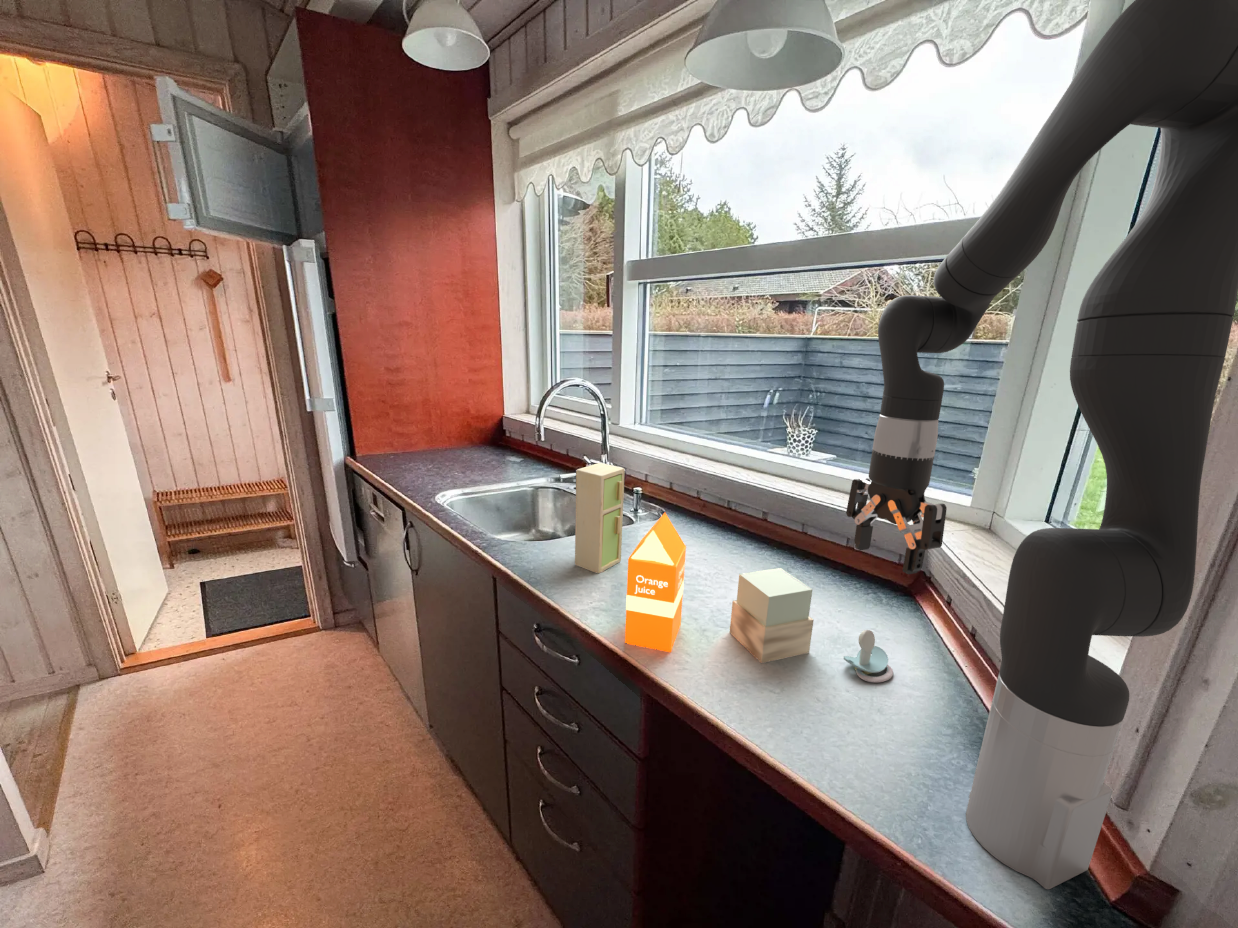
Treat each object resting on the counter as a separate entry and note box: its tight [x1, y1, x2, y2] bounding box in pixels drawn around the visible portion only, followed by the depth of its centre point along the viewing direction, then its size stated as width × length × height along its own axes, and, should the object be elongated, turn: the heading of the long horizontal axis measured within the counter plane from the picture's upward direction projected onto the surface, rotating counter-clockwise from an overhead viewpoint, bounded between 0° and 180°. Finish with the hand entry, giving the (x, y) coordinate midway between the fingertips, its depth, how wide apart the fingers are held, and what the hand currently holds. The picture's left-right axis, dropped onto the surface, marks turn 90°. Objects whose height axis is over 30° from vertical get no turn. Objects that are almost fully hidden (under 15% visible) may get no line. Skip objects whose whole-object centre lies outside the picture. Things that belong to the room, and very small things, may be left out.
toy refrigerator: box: [574, 462, 625, 574], centre depth 112 cm, size 8×7×21 cm
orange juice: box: [624, 512, 687, 653], centre depth 87 cm, size 8×9×20 cm
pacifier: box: [843, 629, 894, 683], centre depth 81 cm, size 7×6×6 cm
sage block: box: [736, 567, 813, 627], centre depth 86 cm, size 8×8×5 cm
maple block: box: [729, 599, 814, 664], centre depth 88 cm, size 9×9×6 cm
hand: (884, 560), depth 77 cm, fingers open, 8 cm apart
